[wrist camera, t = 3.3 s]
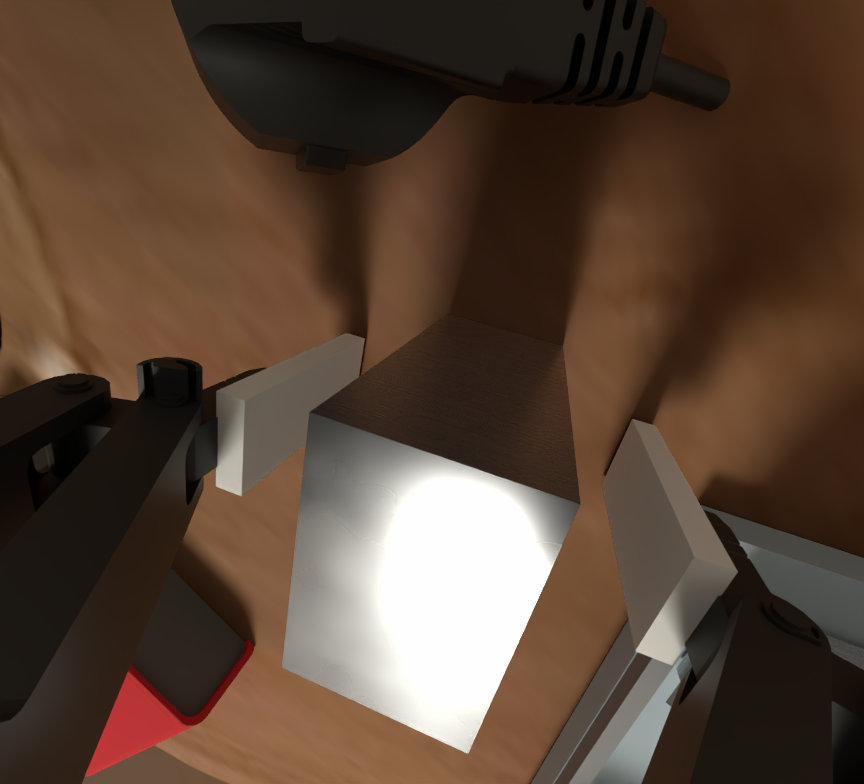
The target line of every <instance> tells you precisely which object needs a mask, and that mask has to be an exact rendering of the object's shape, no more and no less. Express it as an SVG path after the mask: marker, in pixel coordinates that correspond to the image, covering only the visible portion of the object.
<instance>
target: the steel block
mask: <svg viewBox="0 0 864 784" xmlns="http://www.w3.org/2000/svg"><path fill="white" fill-rule="evenodd" d="M579 506H580V496H579V487H578V478H577V469H576V460H575V451H574V442H573V433H572V424H571V414H570V405H569V396H568V387H567V378H566V369H565V360H564V351H563V346H562V345H559V344H555V343H551V342H548V341H544V340H541V339H537V338H533V337H530V336H526V335H523V334H519V333H516V332H512V331H508V330H505V329H501V328H498V327H494V326H490V325H487V324H483V323H480V322H476V321H472V320H469V319H465V318H462V317H458V316H455V315H451V314H447V315H446V316H445V317H443V318H442V319H440V320H439V321H438V322H436V323H435V324H433V325H432V326H430V327H429V328H428V329H426V330H425V331H423V332H422V333H421V334H419V335H418V336H416V337H415V338H413V339H412V340H411V341H409V342H408V343H406V344H405V345H404V346H402V347H401V348H399V349H398V350H396V351H395V352H394V353H392V354H391V355H389V356H388V357H387V358H385V359H384V360H382V361H381V362H380V363H378V364H377V365H375V366H374V367H372V368H371V369H370V370H368V371H367V372H365V373H364V374H363V375H361V376H360V377H358V378H357V379H355V380H354V381H353V382H351V383H350V384H348V385H347V386H346V387H344V388H343V389H341V390H340V391H338V392H337V393H336V394H334V395H333V396H331V397H330V398H329V399H327V400H326V401H324V402H323V403H321V404H320V405H319V406H317V407H316V408H314V409H313V410H312V411H310V412H309V421H308V430H307V439H306V449H305V458H304V467H303V477H302V486H301V495H300V504H299V514H298V523H297V532H296V542H295V551H294V560H293V570H292V579H291V588H290V598H289V607H288V616H287V626H286V635H285V644H284V654H283V663H282V668H284V669H286V670H289V671H291V672H293V673H295V674H297V675H299V676H302V677H304V678H306V679H308V680H310V681H312V682H314V683H317V684H319V685H321V686H323V687H325V688H327V689H330V690H332V691H334V692H336V693H338V694H340V695H342V696H345V697H347V698H349V699H351V700H353V701H355V702H358V703H360V704H362V705H364V706H366V707H368V708H371V709H373V710H375V711H377V712H379V713H381V714H383V715H386V716H388V717H390V718H392V719H394V720H396V721H399V722H401V723H403V724H405V725H407V726H409V727H411V728H414V729H416V730H418V731H420V732H422V733H424V734H427V735H429V736H431V737H433V738H435V739H437V740H440V741H442V742H444V743H446V744H448V745H450V746H452V747H455V748H457V749H459V750H461V751H463V752H465V753H468V752H469V750H470V748H471V746H472V743H473V741H474V739H475V737H476V735H477V732H478V730H479V728H480V726H481V723H482V721H483V719H484V717H485V715H486V712H487V710H488V708H489V706H490V704H491V701H492V699H493V697H494V695H495V692H496V690H497V688H498V686H499V684H500V681H501V679H502V677H503V675H504V673H505V670H506V668H507V666H508V664H509V661H510V659H511V657H512V655H513V653H514V650H515V648H516V646H517V644H518V642H519V639H520V637H521V635H522V633H523V630H524V628H525V626H526V624H527V622H528V619H529V617H530V615H531V613H532V611H533V608H534V606H535V604H536V602H537V599H538V597H539V595H540V593H541V591H542V588H543V586H544V584H545V582H546V580H547V577H548V575H549V573H550V571H551V568H552V566H553V564H554V562H555V560H556V557H557V555H558V553H559V551H560V548H561V546H562V544H563V542H564V540H565V537H566V535H567V533H568V531H569V529H570V526H571V524H572V522H573V520H574V517H575V515H576V513H577V511H578V509H579Z"/></svg>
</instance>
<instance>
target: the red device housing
mask: <svg viewBox="0 0 864 784" xmlns="http://www.w3.org/2000/svg"><path fill="white" fill-rule="evenodd" d="M32 457H33V462H34V467H35V469H36V470H39V469H41V468H43V467H45V466H46V465H48V460H47V455H46V450H45V447H43V448H42V449H40V450H39V451H38V452H37V453H36V454H34V455H33V456H32ZM253 651H254V645H253V644H252V643H251V642H250V641H249V640H246V641H245V642H244V641H243V640H242V639H241V638H240V637H239V636H238V635H237V634H236V633H235V632H234V631H233V630H232V629H231V628H230V627H229V626H228V625H227V624H226V623H225V622H224V621H223V620H222V619H221V618H220V617H219V616H218V615H217V614H216V613H215V612H214V611H213V610H212V609H211V608H210V607H209V606H208V605H207V604H206V603H205V602H204V601H203V600H202V599H201V598H200V597H199V596H198V595H197V594H196V593H195V592H194V591H193V589H192V588H191V587H190V586H189V585H188V584H187V583H186V582H185V581H184V580H183V579H182V578H181V577H180V576H179V575H178V574H177V573H176V572H175V571H174V570H173V569H172V568H171V569H170V571H169V573H168V576H167V578H166V581H165V583H164V586H163V588H162V590H161V593H160V595H159V598H158V600H157V603H156V605H155V607H154V610H153V612H152V615H151V617H150V619H149V622H148V624H147V627H146V629H145V632H144V634H143V636H142V639H141V641H140V644H139V646H138V649H137V651H136V653H135V656H134V658H133V661H132V663H131V665H130V668H129V670H128V673H127V675H126V678H125V680H124V682H123V685H122V687H121V690H120V692H119V695H118V697H117V699H116V702H115V704H114V707H113V709H112V711H111V714H110V716H109V719H108V721H107V724H106V726H105V728H104V731H103V733H102V736H101V738H100V741H99V743H98V745H97V748H96V750H95V753H94V755H93V757H92V760H91V762H90V765H89V767H88V770H87V772H86V774H85V777H86V776H90V775H93V774H95V773H97V772H99V771H101V770H103V769H105V768H107V767H109V766H111V765H113V764H116V763H118V762H120V761H122V760H124V759H125V758H128V757H130V756H132V755H134V754H136V753H139V752H141V751H143V750H145V749H147V748H149V747H151V746H153V745H155V744H157V743H159V742H162V741H164V740H166V739H168V738H170V737H172V736H174V735H176V734H178V733H180V732H182V731H185V730H187V729H189V728H191V727H193V726H195V725H197V724H199V723H200V722H202V721H203V720H204V719H205V718H206V717H207V716H208V714H209V713H210V712H211V710H212V709H213V707H214V706H215V705H216V703H217V702H218V701H219V699H220V698H221V696H222V695H223V694H224V692H225V691H226V689H227V688H228V687H229V685H230V684H231V683H232V681H233V680H234V678H235V677H236V676H237V674H238V673H239V672H240V670H241V669H242V667H243V666H244V665H245V663H246V662H247V661H248V659H249V658H250V656H251V655H252V653H253Z"/></svg>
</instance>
